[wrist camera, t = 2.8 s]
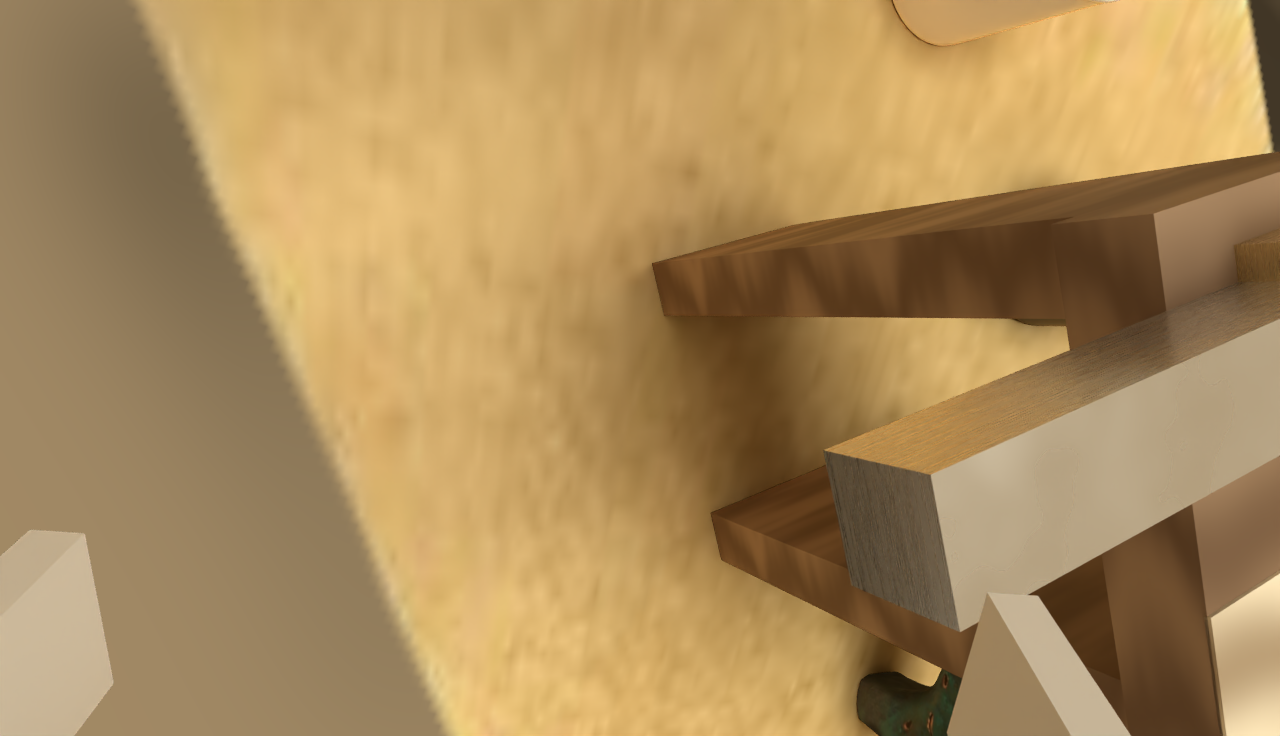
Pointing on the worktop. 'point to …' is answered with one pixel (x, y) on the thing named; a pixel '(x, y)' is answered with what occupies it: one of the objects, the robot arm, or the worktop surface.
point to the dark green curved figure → (907, 704)
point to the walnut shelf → (1093, 307)
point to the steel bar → (1065, 452)
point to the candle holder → (979, 16)
